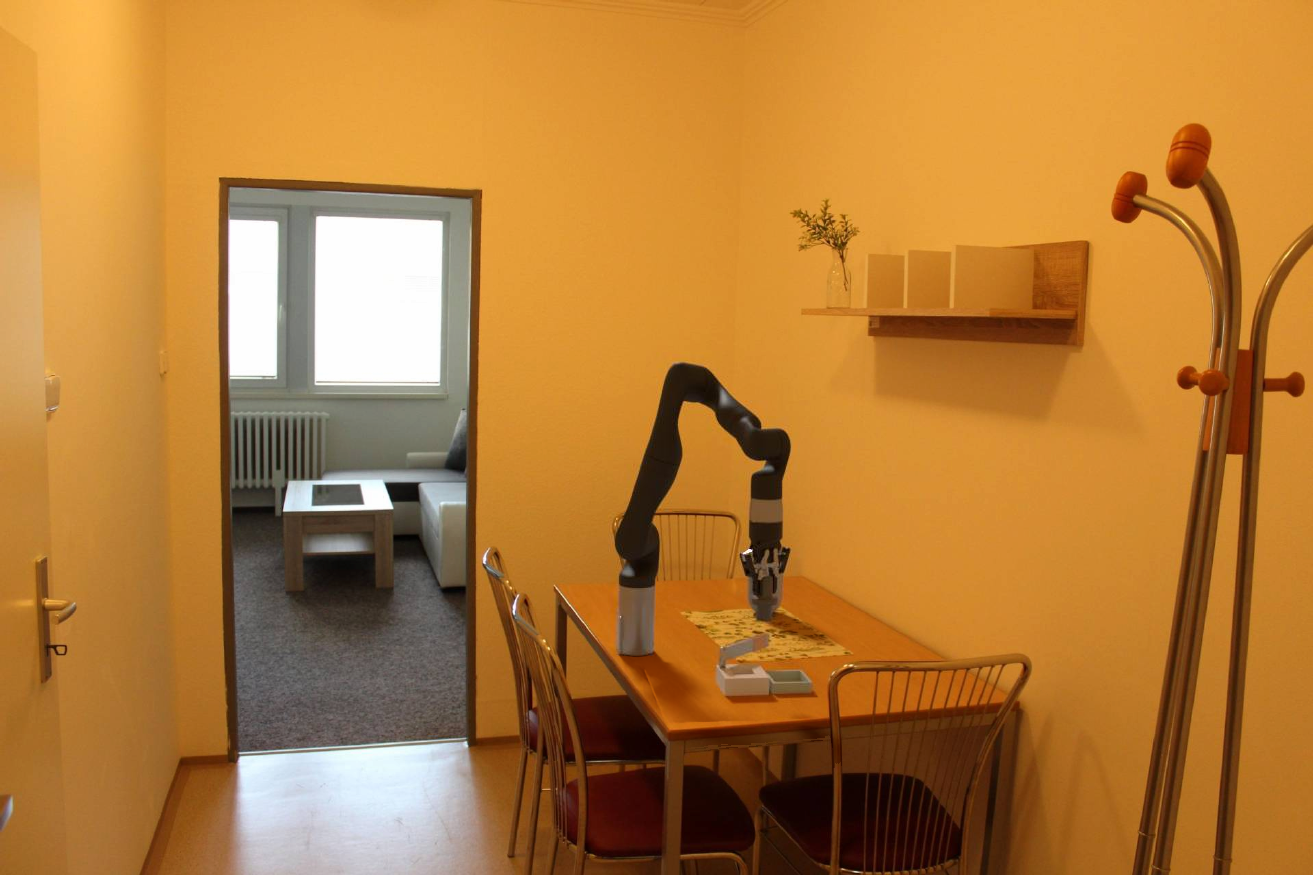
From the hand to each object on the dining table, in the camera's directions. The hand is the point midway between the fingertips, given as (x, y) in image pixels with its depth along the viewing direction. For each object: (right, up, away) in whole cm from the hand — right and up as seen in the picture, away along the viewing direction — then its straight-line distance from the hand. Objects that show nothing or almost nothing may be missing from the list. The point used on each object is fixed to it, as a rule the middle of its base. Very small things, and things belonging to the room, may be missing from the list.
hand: (764, 594), depth 239 cm
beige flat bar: (-4, -17, +10) cm, 20 cm away
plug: (0, -6, +1) cm, 6 cm away
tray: (+5, -22, +3) cm, 23 cm away
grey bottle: (+7, -16, +73) cm, 75 cm away
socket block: (-5, -22, +2) cm, 23 cm away
